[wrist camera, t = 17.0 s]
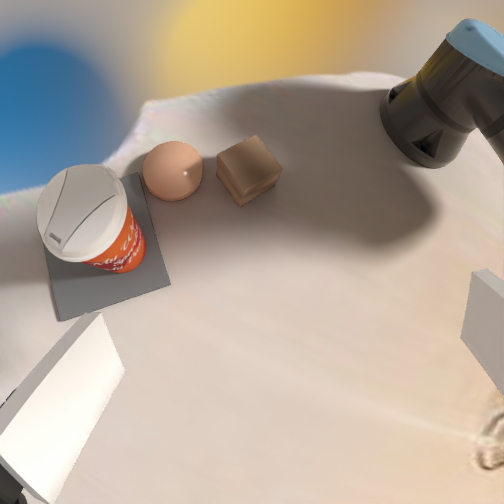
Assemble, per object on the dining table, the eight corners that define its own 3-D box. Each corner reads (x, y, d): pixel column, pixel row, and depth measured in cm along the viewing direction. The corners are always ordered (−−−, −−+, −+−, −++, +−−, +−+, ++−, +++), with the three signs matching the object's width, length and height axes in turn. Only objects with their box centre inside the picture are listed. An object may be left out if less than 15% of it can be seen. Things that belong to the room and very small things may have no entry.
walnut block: (250, 155, 38) (255, 134, 33) (273, 186, 38) (282, 168, 33) (216, 174, 37) (217, 154, 32) (239, 207, 37) (244, 190, 32)
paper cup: (133, 296, 32) (85, 279, 19) (80, 261, 32) (15, 227, 19) (168, 234, 34) (144, 180, 21) (114, 203, 34) (70, 142, 21)
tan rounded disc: (144, 203, 35) (142, 197, 33) (144, 151, 36) (143, 143, 34) (203, 199, 37) (204, 192, 35) (200, 148, 38) (201, 139, 36)
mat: (138, 174, 36) (137, 172, 35) (170, 284, 34) (170, 284, 33) (41, 213, 33) (39, 211, 33) (62, 321, 31) (60, 321, 31)
